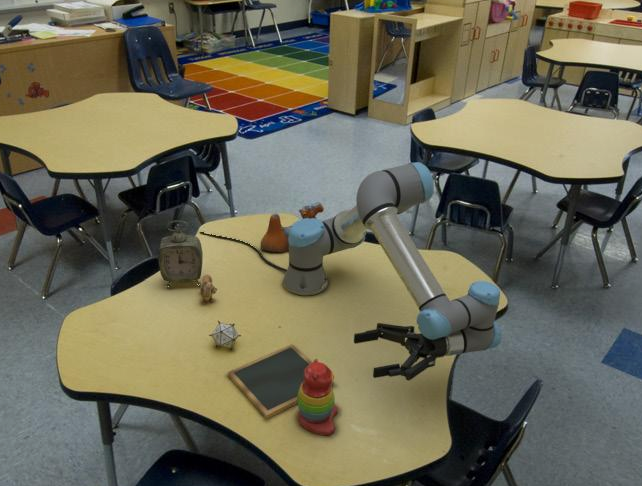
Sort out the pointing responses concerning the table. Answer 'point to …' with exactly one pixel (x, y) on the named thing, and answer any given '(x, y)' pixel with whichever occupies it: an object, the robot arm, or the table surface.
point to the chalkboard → (272, 380)
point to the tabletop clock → (180, 257)
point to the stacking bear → (317, 399)
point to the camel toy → (285, 229)
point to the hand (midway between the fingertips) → (363, 355)
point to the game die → (225, 335)
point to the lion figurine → (207, 288)
